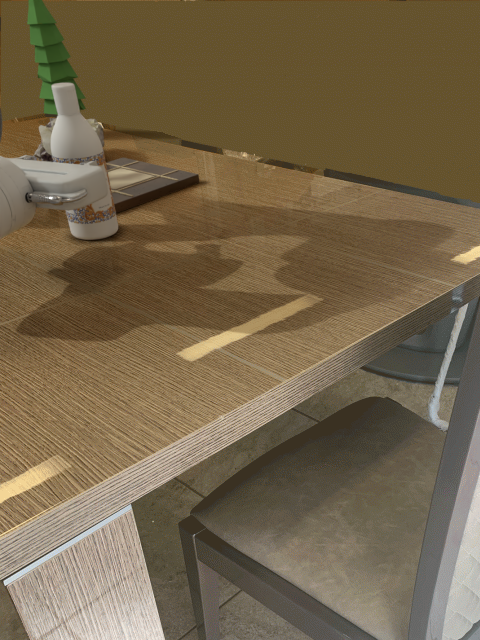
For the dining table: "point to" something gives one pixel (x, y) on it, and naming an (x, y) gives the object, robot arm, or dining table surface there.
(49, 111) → the decorative tree
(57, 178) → the robot arm
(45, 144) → the geode
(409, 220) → the dining table surface
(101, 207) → the bath foam
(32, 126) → the dining table surface
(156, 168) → the game board
